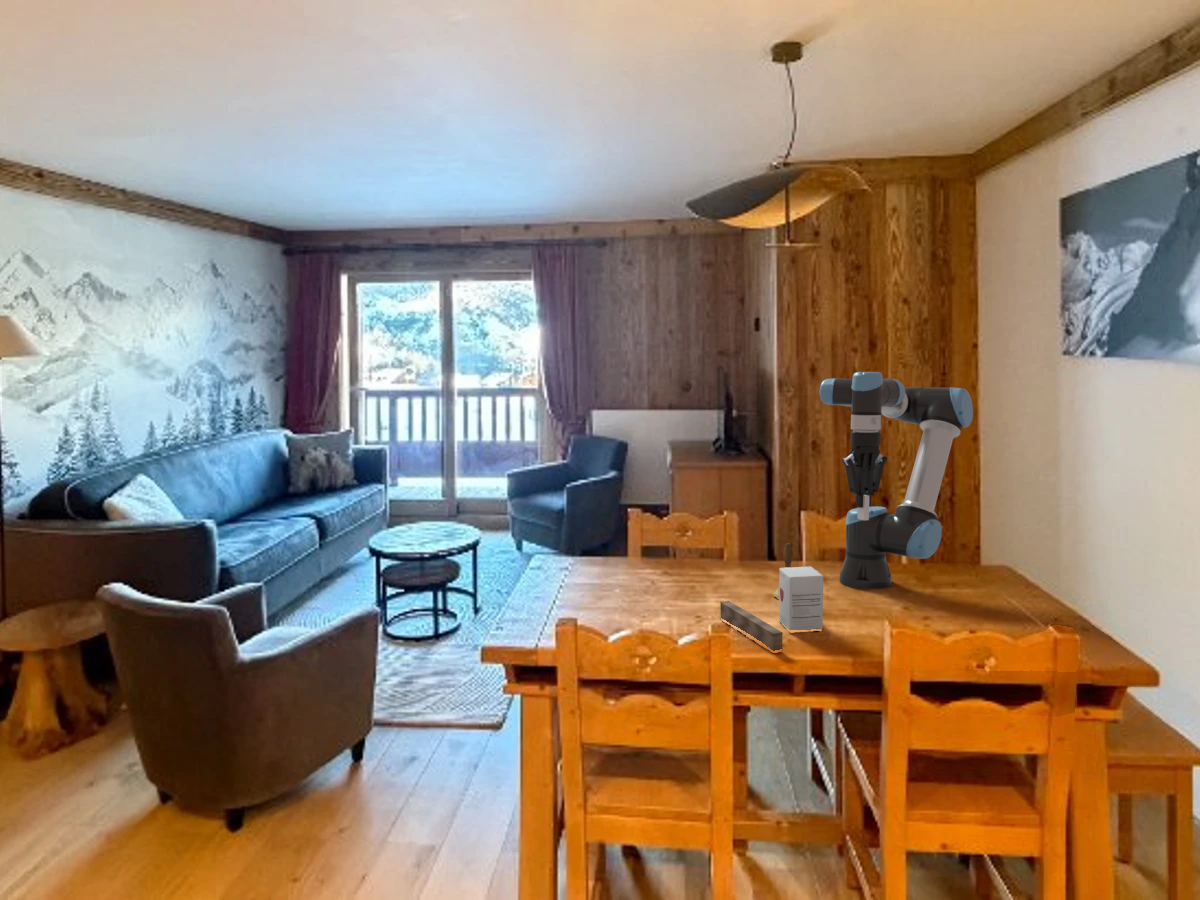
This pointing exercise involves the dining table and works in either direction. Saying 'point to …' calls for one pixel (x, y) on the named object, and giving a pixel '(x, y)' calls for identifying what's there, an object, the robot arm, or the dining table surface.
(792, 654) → the dining table surface
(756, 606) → the dining table surface
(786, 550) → the hand bell
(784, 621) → the supplement box
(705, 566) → the dining table surface
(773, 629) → the board
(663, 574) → the dining table surface
